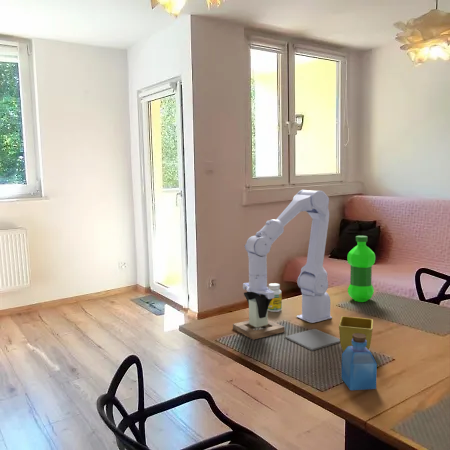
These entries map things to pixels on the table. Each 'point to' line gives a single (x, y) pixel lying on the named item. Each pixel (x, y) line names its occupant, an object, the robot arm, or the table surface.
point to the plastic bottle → (361, 270)
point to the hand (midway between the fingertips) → (258, 315)
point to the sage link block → (256, 315)
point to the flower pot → (354, 330)
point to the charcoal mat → (313, 339)
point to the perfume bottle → (359, 365)
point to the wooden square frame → (269, 330)
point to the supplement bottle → (275, 298)
